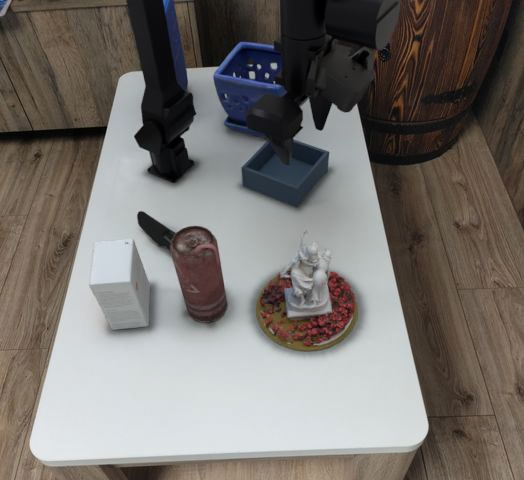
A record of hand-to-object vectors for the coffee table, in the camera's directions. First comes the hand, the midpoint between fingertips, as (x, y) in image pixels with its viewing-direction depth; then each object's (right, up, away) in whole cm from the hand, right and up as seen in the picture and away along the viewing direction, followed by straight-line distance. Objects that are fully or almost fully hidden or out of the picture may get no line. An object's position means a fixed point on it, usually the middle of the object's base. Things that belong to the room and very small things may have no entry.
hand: (303, 146), depth 72 cm
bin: (-2, +2, +19) cm, 19 cm away
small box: (-26, -23, +4) cm, 35 cm away
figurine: (+1, -23, +3) cm, 23 cm away
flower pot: (-6, +16, +28) cm, 33 cm away
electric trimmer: (-21, -13, +11) cm, 26 cm away
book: (-24, +22, +33) cm, 46 cm away
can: (-14, -23, +4) cm, 27 cm away
